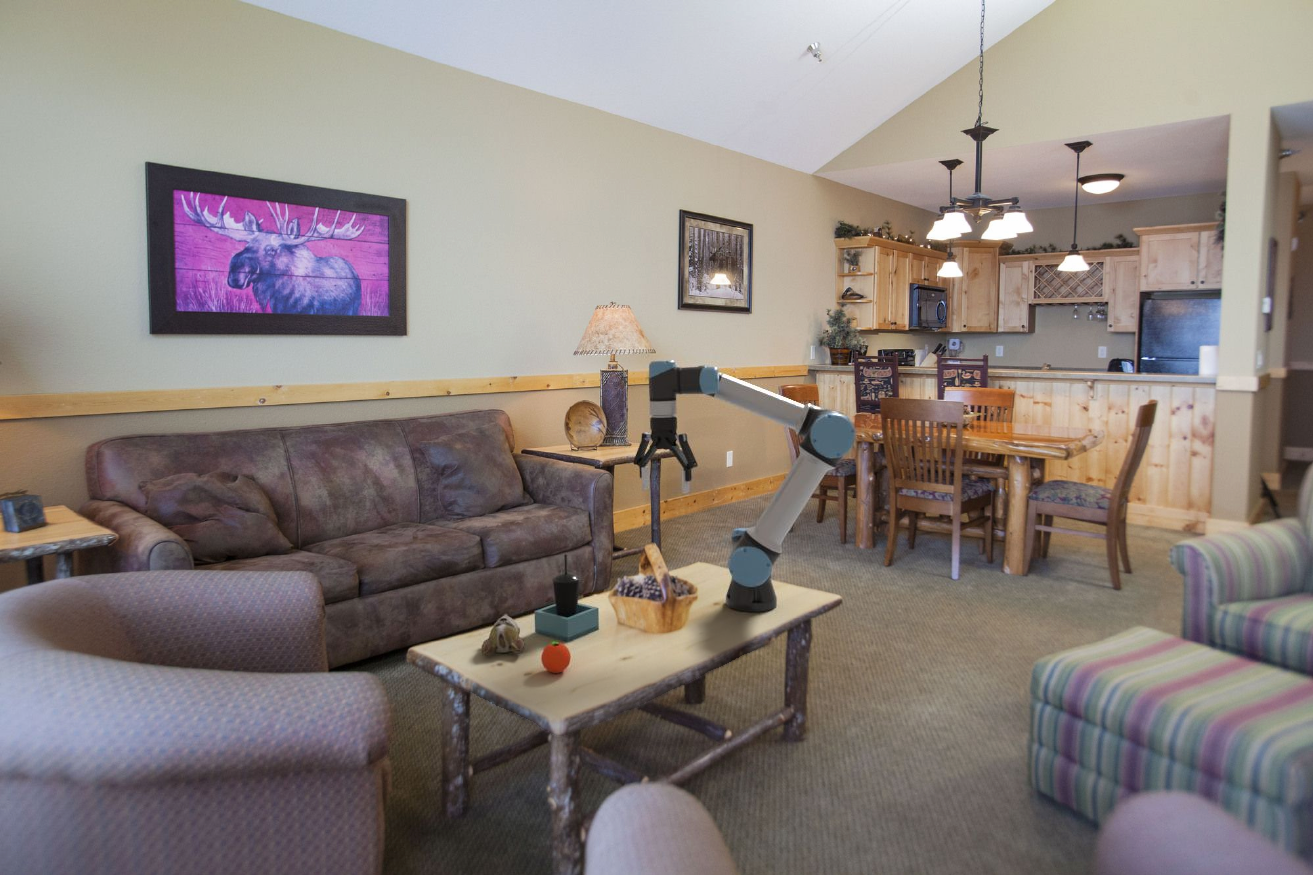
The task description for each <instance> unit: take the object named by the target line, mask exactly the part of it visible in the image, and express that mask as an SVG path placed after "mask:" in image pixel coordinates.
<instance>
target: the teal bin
mask: <svg viewBox="0 0 1313 875" xmlns="http://www.w3.org/2000/svg"><path fill="white" fill-rule="evenodd" d="M599 613H600V612H599V607H597V606H592V605H587V604H585V603H584V604H583V603H579V602H578V605H577V614H576V615H573V616H571V617H568V618H566V617H563V616H559V615H557V612H556V603H554V604H551V605H548V606H545V607H543V608H540V609H537V610H534V633H535V634H538V635H542V636H545V637H549V638H552V639H556V640H559V641H563V642H566V643H570V642H572V641H575V640H577V639H579V638H583V636H586V635H588V634H591V633H594V632H595V631H598V630H600V622H599V619H600V618H599V617H600V616H599V615H600V614H599Z"/></svg>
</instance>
